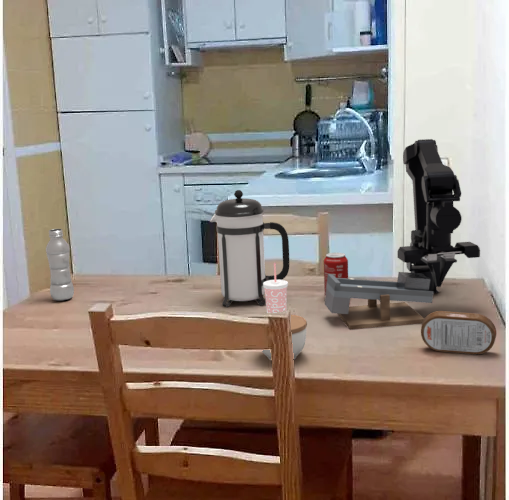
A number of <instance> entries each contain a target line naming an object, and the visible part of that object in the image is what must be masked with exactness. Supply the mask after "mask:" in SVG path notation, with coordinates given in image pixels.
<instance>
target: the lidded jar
mask: <svg viewBox="0 0 509 500" xmlns="http://www.w3.org/2000/svg"><path fill="white" fill-rule="evenodd" d="M307 322H308V321H307V320H306V319H305V317H303V316H300V315H296V314H291V332H292V343H293V353H294V360H295V359H296V358H298V357H297V356H299V354H300V353H301V352H302V351H303V349H304V348H305V345H306V340H307V327H308V326H307ZM261 352H262V354H264V355H265V357H267V359H268V360H269V361H271V353H270V350H263V351H261Z"/></svg>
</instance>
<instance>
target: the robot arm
mask: <svg viewBox="0 0 509 500" xmlns="http://www.w3.org/2000/svg"><path fill="white" fill-rule="evenodd" d="M436 141H437V140H436V139H432V138H430V139H429V138H426V139H425V138H424V139H417V140H415V141H414V143H412V144H410V145H408V146H405V148H404V150H403V153H402V160H403V161H402V163H403V165H405V172H406V174H407V175H408V177H410V179H411V181H412V191H413V192H412V194H413V195H412V196H413V211H414V213H413V214H414V226H415V227H414V229H413V230H411V231H410V242H409V243H410V244H409V245H407V246H399V248H398V249H397V259H398V260H400V261H402V262H403V263H406V269H407V270H408V272H410V273H422V274H424V275H425V276H427V277H428V278H430V285H429V291H433V292H434V293H433V294H439V293H440V290H438V289H437V288H441V286H442V284H443V282H444V280H445V278H446V277H447V274H448V272H449V271H450V269H451V267H453V264H454V263H457V262H458V260H457V258H456V257H455V256H456V255H464V256H465V257H466V258H467V259H473V258H475V259H476V258H480V257H481V248H480V246H479V245H478V244H475V243H474V242H471V241H461V242H456V243H455V246H453V245H452V234H454V231H455V230H457V229H458V228H459V226H460V225H461V223H462V215H461V214H462V213H461V212H460V210H459V209H458V208H456V207H455V206H454V202H460V201H461V197H462V190H461V185H460V181H459V179H458V176H457V174H455V173H454V170H453V169H452V167H450V166H447V165H446V164H443V161H442V159H441V155H440V154H439V150H438V145H437V142H436Z"/></svg>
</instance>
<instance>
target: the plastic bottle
mask: <svg viewBox="0 0 509 500" xmlns="http://www.w3.org/2000/svg"><path fill="white" fill-rule="evenodd" d="M63 237H64V234H63V229H62V228H52V229H49V230H48V238H49V239H50V240H49V241H48V242H47V245H46V246H45V252H46V253H45V254H46V257H47V261H48V266H49V271H50V286H49V294H50V297H51V299H52V300H53V301H66V300H71V298H73V297H74V294H75V288H74V285H73V282H72V277H71V269H70V245H69V243H68V242H67V241H66V239H64V238H63Z"/></svg>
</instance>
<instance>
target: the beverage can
mask: <svg viewBox="0 0 509 500" xmlns="http://www.w3.org/2000/svg"><path fill="white" fill-rule="evenodd" d="M325 256H326V257H325V258H324V260H323V279H324V280H323V281H324V282H323V283H324V296H325V295H326V285H327V277H328V274H333V275H334V276H335V277H336V278H347V279H349V259H348V258H347V257H346V254H345V253H344V252H329V253H326V255H325Z"/></svg>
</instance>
